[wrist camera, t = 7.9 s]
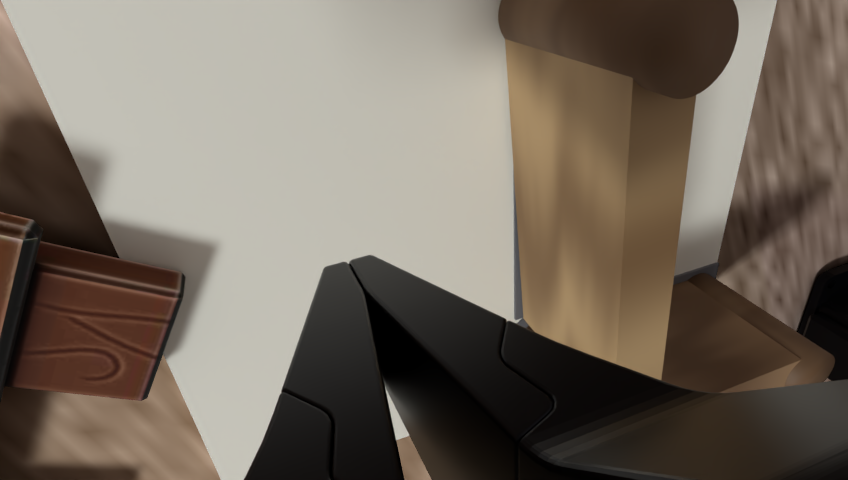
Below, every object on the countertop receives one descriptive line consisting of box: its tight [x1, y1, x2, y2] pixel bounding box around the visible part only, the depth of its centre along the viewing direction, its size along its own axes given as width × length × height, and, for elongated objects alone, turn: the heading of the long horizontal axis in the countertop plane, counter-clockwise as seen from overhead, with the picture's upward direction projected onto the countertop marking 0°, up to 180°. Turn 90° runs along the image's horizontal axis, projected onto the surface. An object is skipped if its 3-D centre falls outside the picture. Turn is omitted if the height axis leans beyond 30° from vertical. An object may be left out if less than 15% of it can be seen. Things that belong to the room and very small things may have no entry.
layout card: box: [1, 0, 777, 480], centre depth 16 cm, size 20×17×1 cm
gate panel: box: [498, 0, 739, 380], centre depth 14 cm, size 11×2×6 cm, turn 9°
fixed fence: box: [527, 273, 835, 393], centre depth 19 cm, size 9×2×5 cm, turn 95°
